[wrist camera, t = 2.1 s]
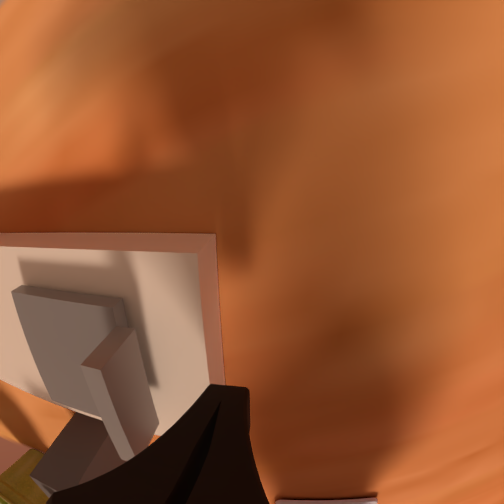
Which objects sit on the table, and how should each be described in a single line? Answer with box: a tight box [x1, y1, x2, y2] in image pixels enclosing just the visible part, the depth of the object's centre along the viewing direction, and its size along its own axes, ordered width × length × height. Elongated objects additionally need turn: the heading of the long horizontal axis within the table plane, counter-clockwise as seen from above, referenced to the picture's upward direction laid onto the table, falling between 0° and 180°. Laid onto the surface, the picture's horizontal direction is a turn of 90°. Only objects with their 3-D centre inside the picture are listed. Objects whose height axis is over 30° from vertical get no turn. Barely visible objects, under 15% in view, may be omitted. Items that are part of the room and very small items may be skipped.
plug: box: [29, 412, 126, 498], centre depth 15 cm, size 4×4×8 cm
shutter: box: [11, 285, 159, 461], centre depth 11 cm, size 6×7×3 cm
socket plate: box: [0, 232, 225, 436], centre depth 14 cm, size 10×18×2 cm, turn 91°
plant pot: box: [0, 449, 49, 504], centre depth 20 cm, size 9×9×9 cm
